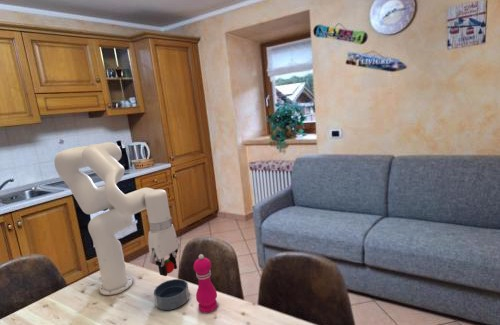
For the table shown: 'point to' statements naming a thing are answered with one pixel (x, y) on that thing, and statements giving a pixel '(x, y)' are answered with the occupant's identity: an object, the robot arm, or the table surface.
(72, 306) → the table surface
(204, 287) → the pepper mill
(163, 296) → the bowl
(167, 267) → the strawberry
